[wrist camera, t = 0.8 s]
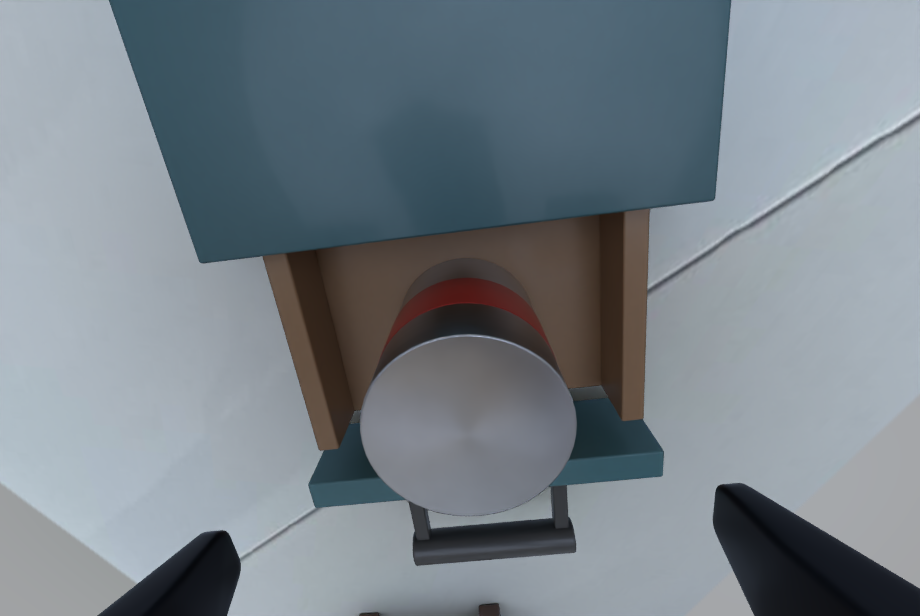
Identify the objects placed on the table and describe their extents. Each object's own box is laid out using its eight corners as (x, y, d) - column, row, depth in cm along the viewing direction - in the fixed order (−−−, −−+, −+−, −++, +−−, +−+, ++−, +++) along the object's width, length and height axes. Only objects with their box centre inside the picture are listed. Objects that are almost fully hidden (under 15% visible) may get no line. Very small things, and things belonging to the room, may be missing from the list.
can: (537, 373, 18) (581, 508, 11) (411, 387, 18) (381, 526, 11) (528, 249, 16) (574, 321, 9) (388, 266, 16) (336, 347, 9)
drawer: (626, 497, 21) (659, 567, 18) (361, 520, 22) (340, 593, 18) (632, 58, 15) (687, 29, 11) (251, 112, 15) (186, 101, 12)
